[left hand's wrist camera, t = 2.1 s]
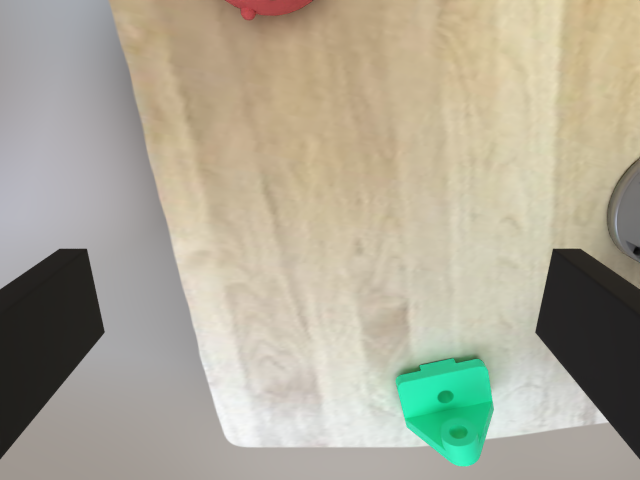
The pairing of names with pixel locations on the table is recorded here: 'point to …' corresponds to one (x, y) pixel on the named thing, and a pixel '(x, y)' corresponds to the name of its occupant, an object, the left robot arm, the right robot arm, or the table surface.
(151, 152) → the table surface
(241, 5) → the toy
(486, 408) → the camera mount
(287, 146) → the table surface
